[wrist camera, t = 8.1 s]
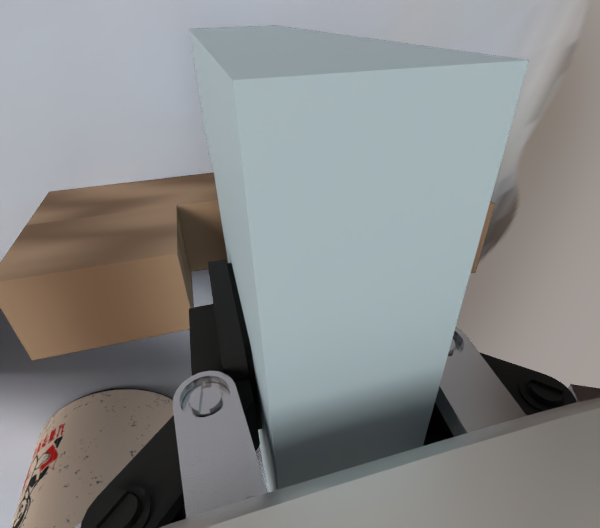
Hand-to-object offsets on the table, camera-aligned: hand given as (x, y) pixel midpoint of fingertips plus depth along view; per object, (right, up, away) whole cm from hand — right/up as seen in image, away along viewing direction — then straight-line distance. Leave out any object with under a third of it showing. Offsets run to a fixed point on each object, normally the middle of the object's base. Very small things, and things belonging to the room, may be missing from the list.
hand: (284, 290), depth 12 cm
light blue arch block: (-2, +3, +5) cm, 6 cm away
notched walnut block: (-2, +4, +6) cm, 7 cm away
